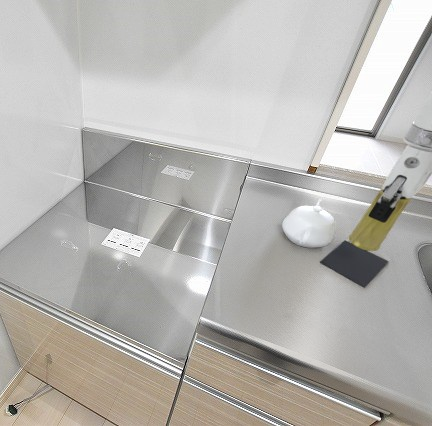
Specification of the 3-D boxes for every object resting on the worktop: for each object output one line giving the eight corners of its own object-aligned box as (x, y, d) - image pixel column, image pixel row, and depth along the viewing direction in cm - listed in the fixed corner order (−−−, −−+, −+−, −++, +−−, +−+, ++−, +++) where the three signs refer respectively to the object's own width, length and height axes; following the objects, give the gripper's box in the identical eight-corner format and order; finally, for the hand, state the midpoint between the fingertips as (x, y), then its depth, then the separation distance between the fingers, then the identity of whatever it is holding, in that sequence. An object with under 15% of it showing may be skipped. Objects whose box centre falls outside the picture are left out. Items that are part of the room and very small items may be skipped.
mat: (388, 262, 74) (389, 261, 74) (364, 287, 68) (365, 287, 67) (344, 240, 81) (345, 240, 80) (319, 262, 74) (319, 261, 74)
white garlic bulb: (288, 211, 92) (300, 184, 86) (334, 226, 86) (350, 197, 80) (271, 246, 79) (283, 217, 73) (323, 266, 73) (341, 236, 67)
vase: (353, 248, 69) (385, 198, 61) (344, 232, 74) (373, 184, 65) (383, 253, 68) (420, 202, 59) (373, 237, 72) (406, 187, 64)
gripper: (445, 155, 49) (387, 238, 59) (472, 132, 56) (416, 209, 67) (391, 141, 54) (346, 220, 64) (422, 122, 61) (378, 194, 72)
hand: (382, 213), depth 66 cm, fingers closed on vase, 5 cm apart
